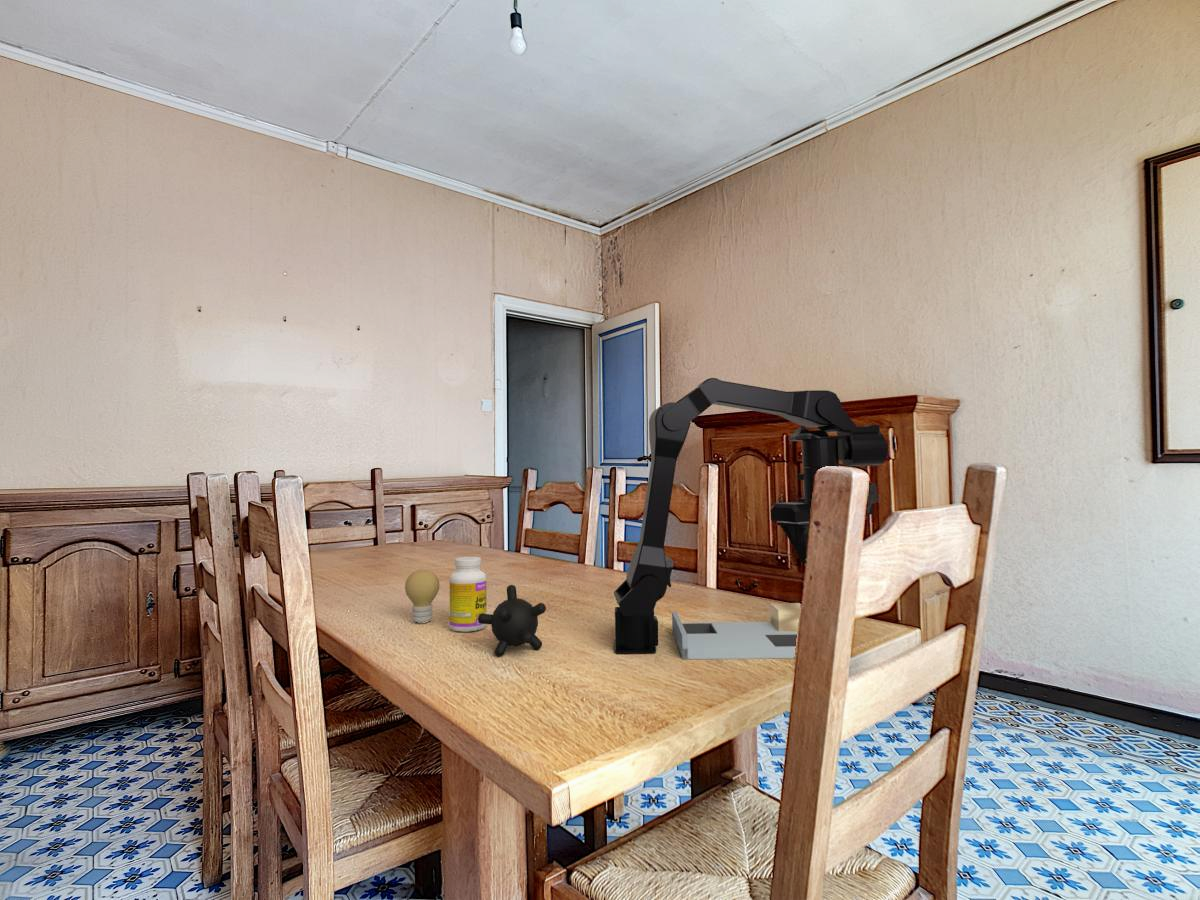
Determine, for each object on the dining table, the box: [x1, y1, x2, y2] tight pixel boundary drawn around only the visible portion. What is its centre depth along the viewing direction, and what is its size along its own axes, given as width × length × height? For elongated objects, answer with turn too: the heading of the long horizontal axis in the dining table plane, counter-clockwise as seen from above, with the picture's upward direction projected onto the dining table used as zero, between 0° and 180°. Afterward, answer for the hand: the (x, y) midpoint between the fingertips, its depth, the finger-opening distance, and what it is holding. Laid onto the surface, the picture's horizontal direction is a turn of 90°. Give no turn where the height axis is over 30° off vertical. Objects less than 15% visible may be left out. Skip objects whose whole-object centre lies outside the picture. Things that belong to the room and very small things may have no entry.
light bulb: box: [404, 569, 440, 623], centre depth 117 cm, size 6×6×10 cm
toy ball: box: [478, 584, 547, 657], centre depth 98 cm, size 11×11×12 cm
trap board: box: [671, 610, 797, 660], centre depth 99 cm, size 23×15×4 cm, turn 89°
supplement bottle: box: [449, 556, 488, 632], centre depth 112 cm, size 7×7×13 cm
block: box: [769, 602, 802, 632], centre depth 103 cm, size 5×5×4 cm
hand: (824, 561), depth 101 cm, fingers open, 9 cm apart
